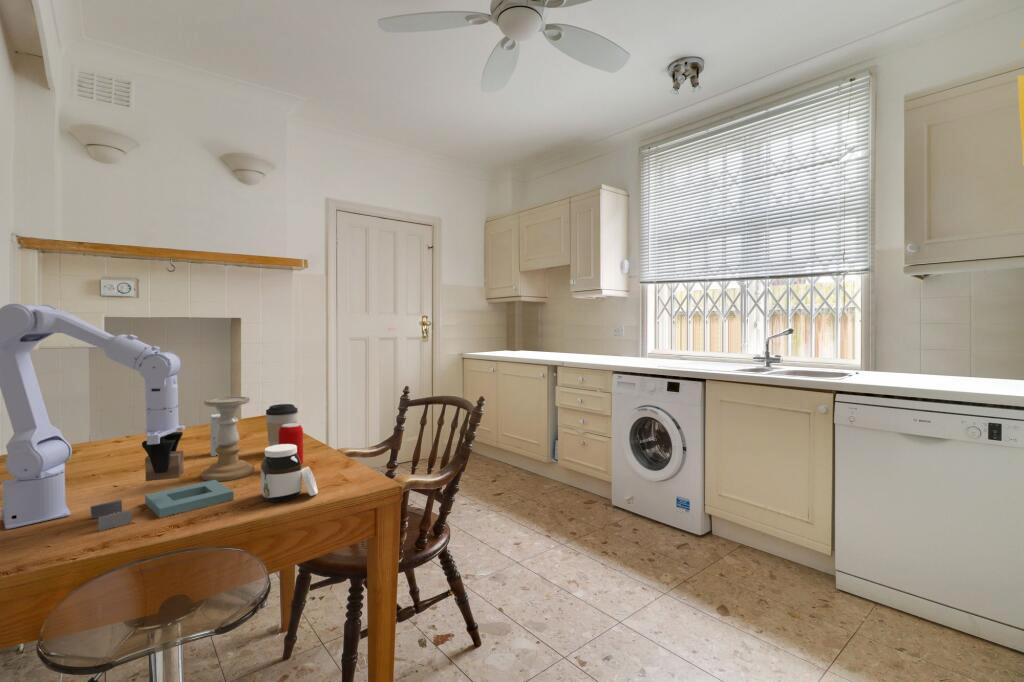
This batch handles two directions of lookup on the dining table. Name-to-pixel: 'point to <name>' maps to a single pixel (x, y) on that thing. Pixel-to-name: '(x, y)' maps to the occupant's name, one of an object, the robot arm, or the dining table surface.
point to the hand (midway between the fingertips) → (164, 469)
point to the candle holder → (227, 442)
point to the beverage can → (292, 437)
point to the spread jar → (284, 474)
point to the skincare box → (214, 433)
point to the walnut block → (173, 469)
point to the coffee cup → (279, 420)
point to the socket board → (188, 498)
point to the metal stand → (110, 520)
